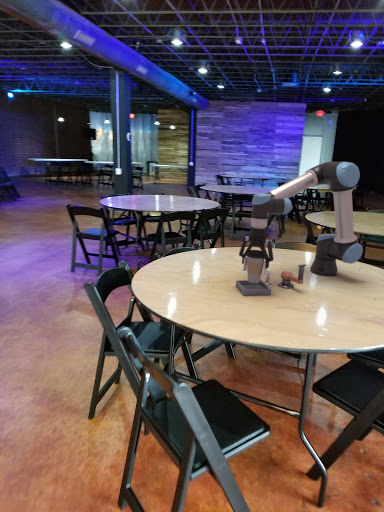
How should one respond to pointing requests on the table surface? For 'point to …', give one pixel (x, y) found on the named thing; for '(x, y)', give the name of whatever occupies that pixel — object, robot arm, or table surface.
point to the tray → (253, 288)
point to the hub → (285, 284)
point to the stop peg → (267, 278)
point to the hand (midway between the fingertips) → (254, 272)
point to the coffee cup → (254, 265)
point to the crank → (290, 276)
